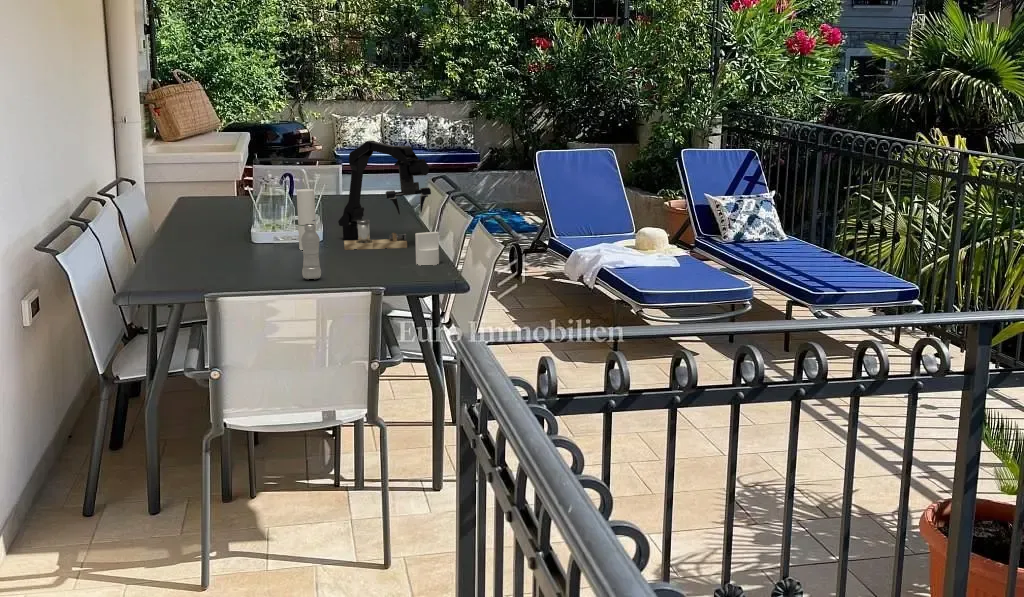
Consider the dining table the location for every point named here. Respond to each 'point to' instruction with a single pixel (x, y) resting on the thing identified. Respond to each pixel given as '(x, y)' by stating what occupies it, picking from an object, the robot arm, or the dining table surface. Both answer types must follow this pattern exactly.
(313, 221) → the cylindrical container
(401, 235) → the lock pin
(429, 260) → the base with upright slab
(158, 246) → the dining table surface
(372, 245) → the dock
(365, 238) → the grey metallic cylinder
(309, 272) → the plastic bottle
